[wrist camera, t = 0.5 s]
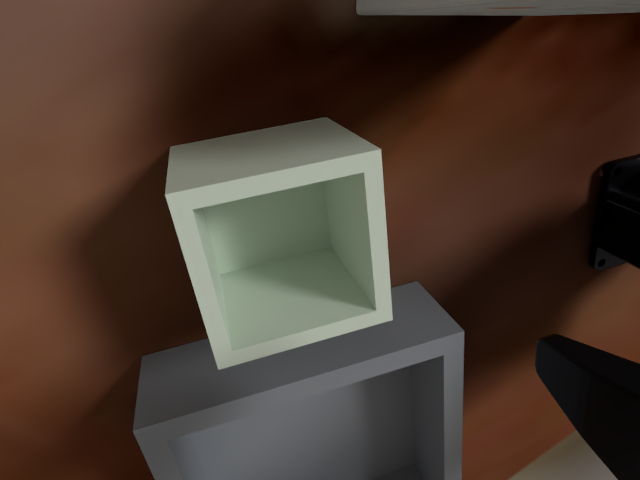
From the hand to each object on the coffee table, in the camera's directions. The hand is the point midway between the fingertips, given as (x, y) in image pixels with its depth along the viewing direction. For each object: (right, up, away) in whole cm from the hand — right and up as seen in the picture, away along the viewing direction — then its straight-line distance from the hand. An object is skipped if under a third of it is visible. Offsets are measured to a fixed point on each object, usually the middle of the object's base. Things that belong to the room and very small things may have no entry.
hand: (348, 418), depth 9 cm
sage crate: (-3, +5, +10) cm, 12 cm away
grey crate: (-1, -6, +16) cm, 17 cm away
